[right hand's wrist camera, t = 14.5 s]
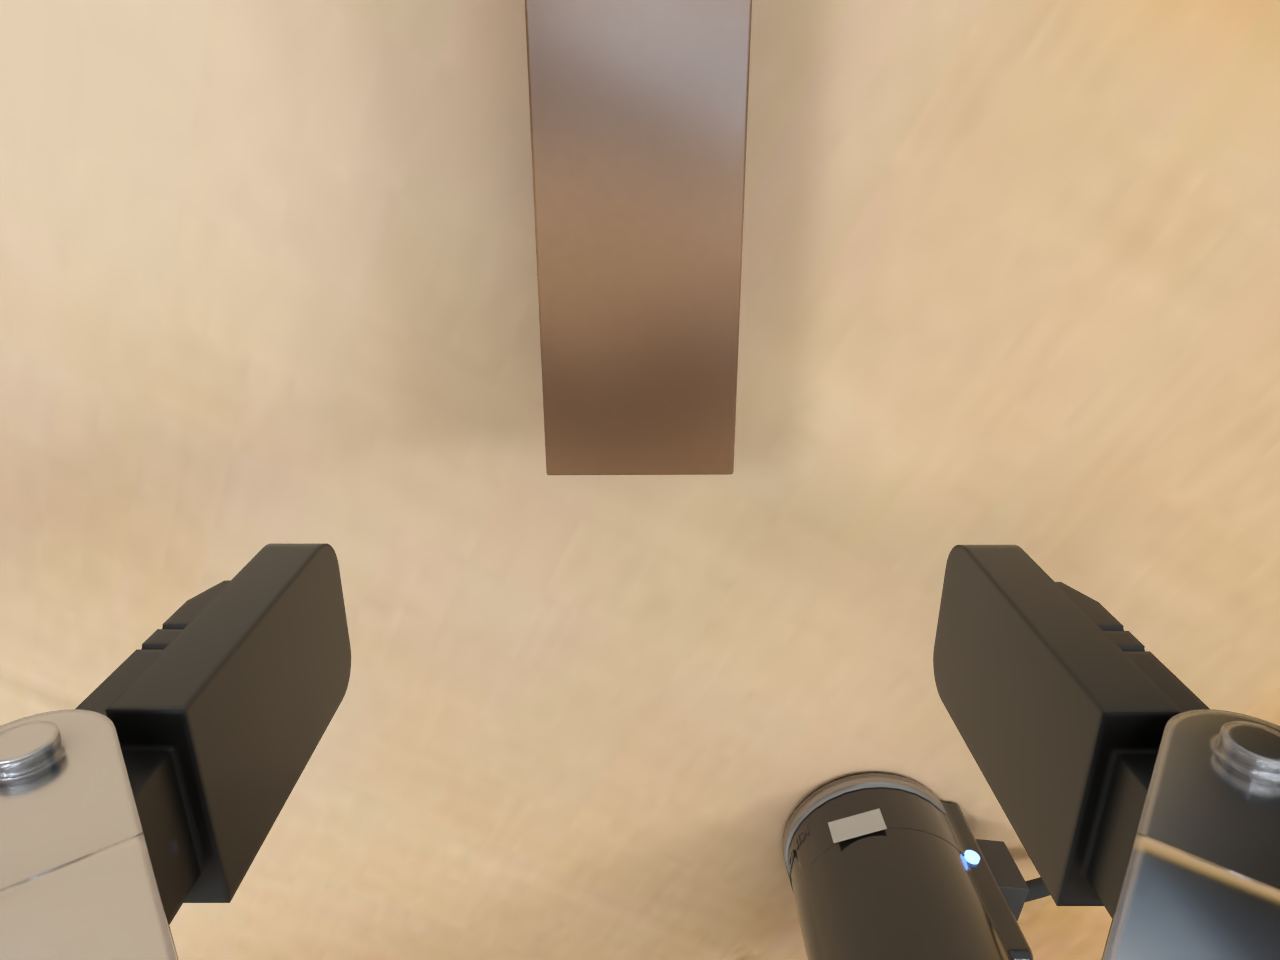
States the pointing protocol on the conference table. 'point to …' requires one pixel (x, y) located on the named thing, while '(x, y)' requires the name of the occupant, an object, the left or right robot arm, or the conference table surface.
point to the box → (639, 229)
